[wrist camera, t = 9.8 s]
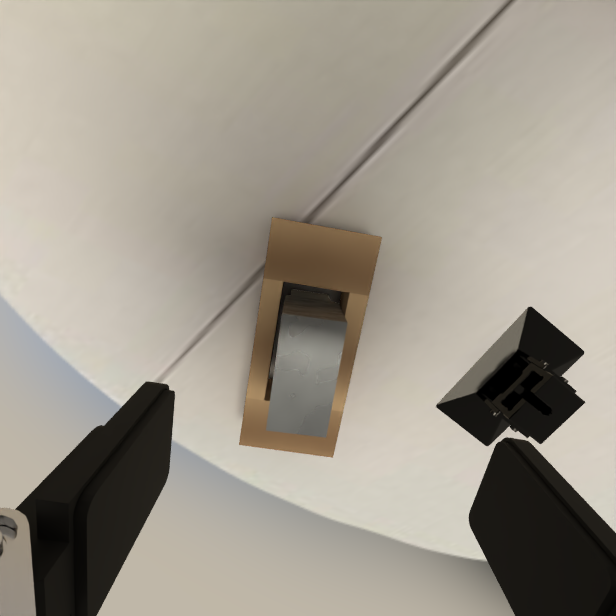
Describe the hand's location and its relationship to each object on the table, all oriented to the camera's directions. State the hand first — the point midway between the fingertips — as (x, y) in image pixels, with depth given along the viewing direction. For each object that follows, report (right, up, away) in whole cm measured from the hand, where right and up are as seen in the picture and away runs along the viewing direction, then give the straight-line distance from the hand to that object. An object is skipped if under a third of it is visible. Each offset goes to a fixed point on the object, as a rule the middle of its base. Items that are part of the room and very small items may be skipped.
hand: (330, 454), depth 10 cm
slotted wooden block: (-1, +3, +13) cm, 13 cm away
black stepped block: (+13, -1, +15) cm, 20 cm away
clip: (-1, +3, +13) cm, 13 cm away
